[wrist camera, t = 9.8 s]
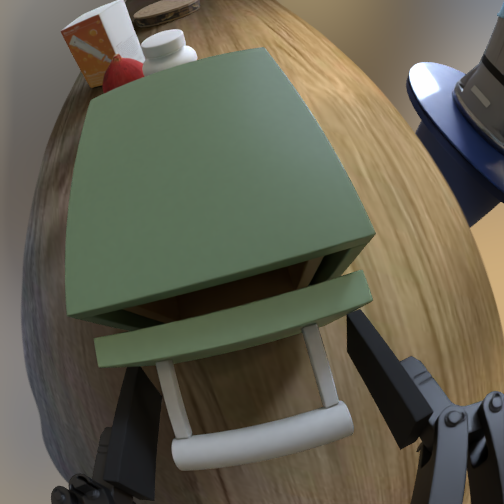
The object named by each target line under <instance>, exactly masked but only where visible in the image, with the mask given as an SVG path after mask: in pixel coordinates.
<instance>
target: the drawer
mask: <svg viewBox="0 0 504 504" xmlns="http://www.w3.org/2000/svg"><path fill="white" fill-rule="evenodd" d="M323 257H324V256H322V257H318V258H315V259H311V260H308V261H304V262H301V263H297V264H294V265H290V266H287V267H283V268H279V269H276V270H272V271H269V272H265V273H261V274H258V275H254V276H250V277H247V278H243V279H239V280H236V281H232V282H228V283H224V284H221V285H217V286H213V287H209V288H205V289H201V290H198V291H194V292H190V293H186V294H182V295H178V296H174V297H170V298H166V299H162V300H158V301H154V302H150V303H146V304H142V305H137V306H133V307H129V308H125V309H123V310H126V311H129V312H132V313H135V314H138V315H141V316H144V317H147V318H151V319H154V320H157V321H160V322H163V323H166V324H162V325H157V326H152V327H148V328H143V329H138V330H133V331H128V332H123V333H118V334H113V335H108V336H102V337H97V338H94V344H95V351H96V357H97V362H98V367H99V368H117V367H139V366H154V365H156V368H157V372H158V376H159V380H160V384H161V388H162V392H163V396H164V400H165V403H166V407H167V410H168V414H169V417H170V421H171V424H172V427H173V430H174V434H175V437H176V438H174V439H173V441H172V446H171V451H172V457H173V460H174V462H175V464H176V466H177V467H178V468H179V469H180V470H183V471H187V470H202V469H213V468H222V467H230V466H237V465H243V464H249V463H255V462H260V461H265V460H270V459H274V458H279V457H283V456H287V455H291V454H295V453H299V452H302V451H306V450H309V449H312V448H316V447H319V446H322V445H325V444H328V443H331V442H334V441H337V440H340V439H342V438H345V437H348V436H350V435H352V434H353V432H354V427H353V422H352V418H351V415H350V412H349V410H348V408H347V406H346V404H345V403H344V402H343V401H339V399H338V395H337V391H336V388H335V384H334V380H333V377H332V373H331V369H330V366H329V362H328V359H327V355H326V352H325V348H324V345H323V342H322V338H321V335H320V331H319V327H322V326H325V325H327V324H329V323H331V322H333V321H335V320H337V319H339V318H341V317H343V316H345V315H347V314H349V313H351V312H353V311H355V310H357V309H359V308H361V307H362V306H364V305H366V304H368V303H370V302H372V301H373V298H372V295H371V292H370V289H369V287H368V284H367V281H366V278H365V275H364V273H363V270H359V271H356V272H353V273H350V274H346V275H343V276H340V277H337V278H334V279H331V280H327V281H324V282H321V283H318V284H314V285H311V286H308V285H309V283H310V282H311V280H312V278H313V276H314V274H315V272H316V270H317V268H318V267H319V265H320V263H321V261H322V259H323ZM300 333H302V334H303V337H304V341H305V344H306V348H307V351H308V355H309V358H310V362H311V365H312V369H313V372H314V376H315V379H316V383H317V387H318V390H319V394H320V397H321V401H322V405H323V406H324V407H321V408H318V409H315V410H312V411H309V412H305V413H302V414H299V415H295V416H292V417H288V418H284V419H280V420H277V421H273V422H268V423H264V424H260V425H255V426H250V427H245V428H240V429H235V430H229V431H223V432H217V433H210V434H202V435H193V436H191V435H192V430H191V427H190V424H189V421H188V417H187V414H186V411H185V407H184V404H183V400H182V396H181V393H180V389H179V385H178V381H177V377H176V373H175V369H174V365H173V364H176V363H181V362H186V361H191V360H196V359H201V358H206V357H211V356H215V355H220V354H224V353H229V352H233V351H237V350H241V349H245V348H249V347H253V346H257V345H261V344H265V343H268V342H272V341H276V340H279V339H283V338H286V337H289V336H293V335H296V334H300Z"/></svg>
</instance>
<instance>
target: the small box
mask: <svg viewBox="0 0 504 504" xmlns="http://www.w3.org/2000/svg"><path fill="white" fill-rule="evenodd" d="M61 33H62V35H63V37H64V39H65V41H66V43H67V45H68V47H69V49H70V51H71V53H72V55H73V57H74V59H75V60H76V62H77V64H78V66H79V68H80V70H81V72H82V73H83V75H84V77H85V79H86V81H87V82H88V84H89V86H90V88H94V87H97V86H102V85H103V78H104V74H105V72H106V70H107V68H108V66H109V65H110V63H111V61H112V59H113V56H115V55H116V54H118V53H119V54H120V56H121V57H122V58H131V59H135V60H137V61H140V62H141V63H144V61H145V57H144V55H143V52H142V49H141V46H140V44H139V41H138V38H137V36H136V33H135V31H134V28H133V25H132V22H131V19H130V17H129V14H128V11H127V8H126V6H125V3H124V0H117V1H115V2H112V3H109V4H106V5H104V6H101V7H99V8H97V9H94V10H92V11H90V12H88V13H85V14H83V15H82V16H80V17H79V18H77V19H76V20H74V21H73V22H72V23H70V24H69V25H68V26H67V27H65V28H64V29H63V30H62V31H61Z"/></svg>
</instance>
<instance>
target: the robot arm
mask: <svg viewBox="0 0 504 504" xmlns="http://www.w3.org/2000/svg"><path fill="white" fill-rule="evenodd" d="M497 16H499V17H498V20H497V23H496V25H495V28H494V30H493V33H492V35H491V38H490V40H489V42H488V45H487V47H486V49H485V51H484V54H483V56H482V58H481V60H480V62H479V64H478V65H477V66H475V67H474V68H473V69H472V70H471V71H470V72H468V73H467V74H466V75H465V76H464V77H463V78H461V79H460V80H459V81H458V82H457V83H456V85H455V87H454V89H453V91H452V97H453V100H454V103H455V105H456V106H457V108H458V110H459V111H460V113H461V114H462V115H463V117H464V118H465V119H466V121H467V122H468V123H469V124H470V125H471V127H472V128H473V129H474V130H475V131H476V132H477V133H478V134H479V135H480V136H481V137H482V138H483V139H484V140H485V141H486V142H487V143H488V144H489V145H491V146H492V147H493V148H494V149H495V150H497V151H498V152H499V153H501V154H502V155H504V3H503V5H502V8H501V10H500V12H499V13H498V14H497ZM347 352H348V354H349V356H350V358H351V359H352V361H353V363H354V365H355V366H356V368H357V370H358V372H359V374H360V375H361V377H362V379H363V381H364V383H365V384H366V386H367V388H368V390H369V392H370V393H371V395H372V397H373V399H374V401H375V403H376V404H377V406H378V408H379V410H380V412H381V414H382V416H383V417H384V419H385V421H386V423H387V425H388V427H389V429H390V431H391V433H392V435H393V436H394V438H395V440H396V442H397V444H398V446H399V448H400V450H401V449H403V448H404V447H406V446H408V445H410V444H412V443H414V442H416V440H417V439H418V437H420V439H421V440H422V442H421V444H420V445H419V446H418V448H417V451H416V452H419V451H420V456H419V463H418V470H417V475H416V481H415V486H414V491H413V495H412V500H411V504H462V502H463V496H464V489H465V481H466V471H467V472H468V478H469V486H470V496H471V504H504V394H503V393H501V392H498V391H493V392H490V393H489V394H487V395H486V397H485V398H484V400H483V401H480V402H477V403H474V404H471V405H468V406H459V405H455V404H454V403H452V402H451V401H450V400H449V399H448V397H447V396H446V394H445V393H444V392H443V390H442V389H441V388H440V386H439V385H438V384H437V382H436V381H435V379H434V378H432V375H431V374H430V373H429V372H428V371H427V369H426V368H425V366H424V365H423V364H422V362H421V361H419V360H417V359H416V358H414V357H412V356H410V357H408V358H406V359H404V360H402V361H400V362H399V360H398V359H397V357H396V356H395V355H394V353H393V352H392V350H391V349H390V348H389V346H388V345H387V344H386V342H385V341H384V340H383V338H382V337H381V336H380V334H379V333H378V332H377V330H376V329H375V328H374V326H373V325H372V324H371V322H370V321H369V320H368V318H367V317H366V316H365V314H364V313H363V312H362V311H361V309H359V310H356V311H354V312H351V313H349V314H347ZM161 403H162V395H161V394H160V393H159V391H158V390H157V389H156V387H155V386H154V385H153V383H152V382H151V381H150V379H149V378H148V377H147V375H146V374H145V372H144V371H143V370H142V368H141V367H140V366H139V367H127V369H126V373H125V377H124V380H123V384H122V388H121V392H120V396H119V400H118V404H117V408H116V412H115V417H114V421H113V425H112V427H106V428H105V429H104V431H103V432H102V434H101V436H100V441H99V446H98V450H97V452H98V453H97V455H96V460H95V465H94V471H93V476H92V479H91V478H90V477H88V476H86V475H85V474H81V473H79V474H75V475H74V476H72V478H71V479H70V481H69V490H68V489H66V488H65V487H62V486H57V487H55V488H54V489H53V491H52V493H51V502H52V504H136V503H135V502H134V501H133V497H135V498H138V499H140V500H150V501H154V496H155V472H156V456H157V443H158V432H159V422H160V412H161Z"/></svg>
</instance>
